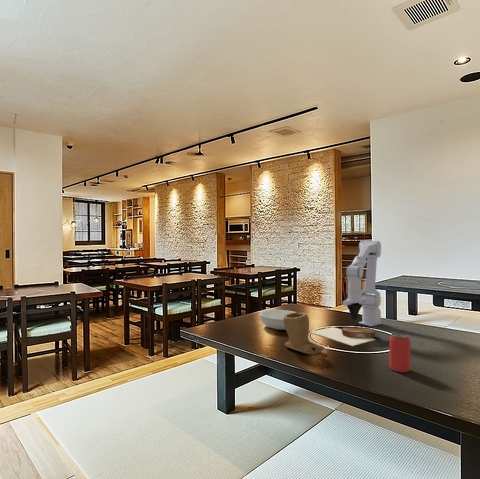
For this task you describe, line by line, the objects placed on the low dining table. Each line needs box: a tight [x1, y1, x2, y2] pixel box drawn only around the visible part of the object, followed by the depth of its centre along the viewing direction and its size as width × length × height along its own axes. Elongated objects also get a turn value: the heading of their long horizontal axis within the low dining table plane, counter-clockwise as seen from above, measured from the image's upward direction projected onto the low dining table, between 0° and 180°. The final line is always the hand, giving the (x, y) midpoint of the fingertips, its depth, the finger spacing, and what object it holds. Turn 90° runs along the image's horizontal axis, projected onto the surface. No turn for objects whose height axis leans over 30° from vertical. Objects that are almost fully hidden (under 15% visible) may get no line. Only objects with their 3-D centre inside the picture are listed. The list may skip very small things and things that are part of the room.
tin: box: [341, 326, 376, 339], centre depth 157 cm, size 15×3×8 cm
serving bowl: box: [259, 309, 295, 331], centre depth 171 cm, size 21×21×7 cm
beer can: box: [388, 332, 412, 373], centre depth 118 cm, size 7×7×12 cm
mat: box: [310, 326, 376, 347], centre depth 157 cm, size 16×24×1 cm, turn 34°
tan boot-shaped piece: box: [284, 311, 325, 355], centre depth 137 cm, size 15×12×15 cm
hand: (354, 319), depth 162 cm, fingers closed
